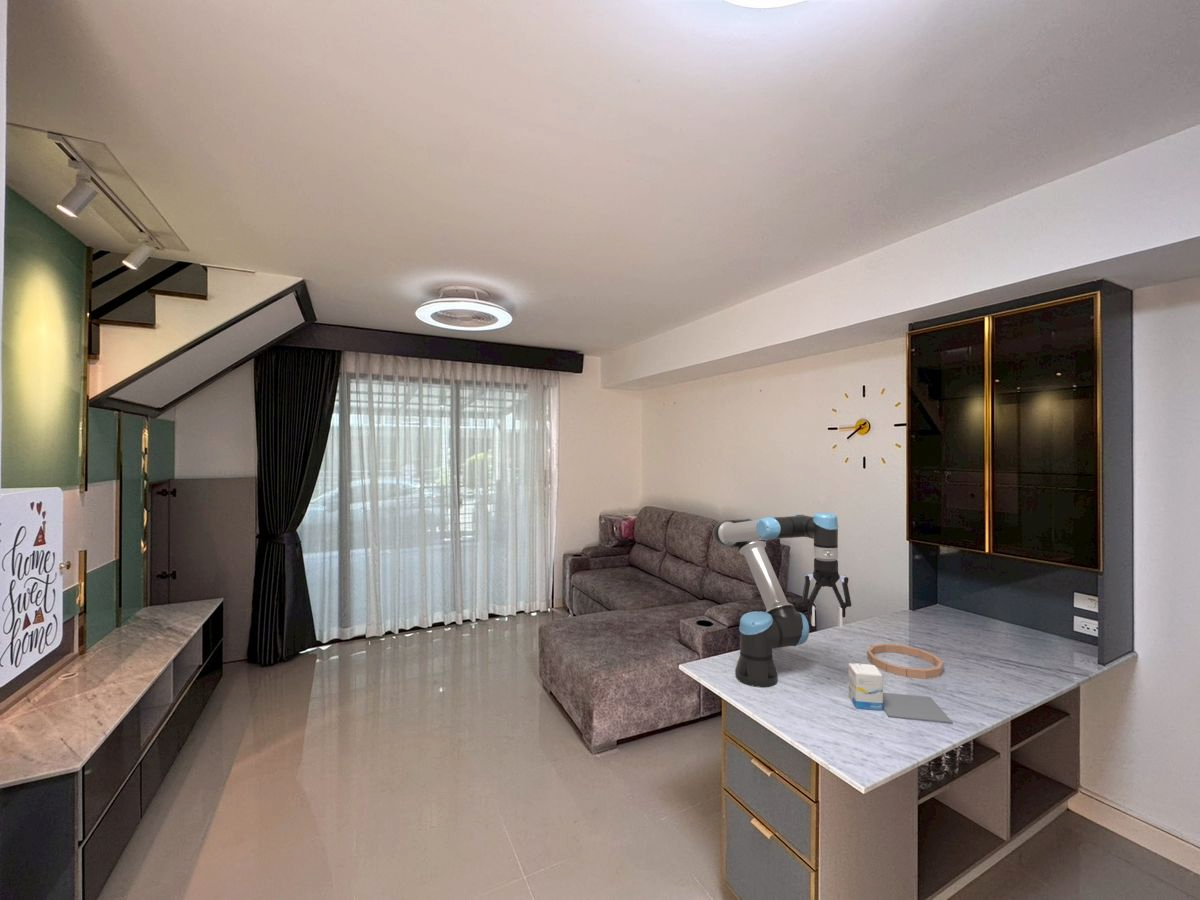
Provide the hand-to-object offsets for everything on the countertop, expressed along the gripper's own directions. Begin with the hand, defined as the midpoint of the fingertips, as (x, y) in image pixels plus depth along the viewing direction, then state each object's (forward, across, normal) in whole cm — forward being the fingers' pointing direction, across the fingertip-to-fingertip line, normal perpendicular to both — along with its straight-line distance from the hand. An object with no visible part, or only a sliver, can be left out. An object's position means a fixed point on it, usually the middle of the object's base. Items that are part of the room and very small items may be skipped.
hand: (826, 625), depth 168 cm
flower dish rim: (+25, +36, +36) cm, 57 cm away
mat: (+25, +26, 0) cm, 36 cm away
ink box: (+26, +12, 0) cm, 28 cm away
